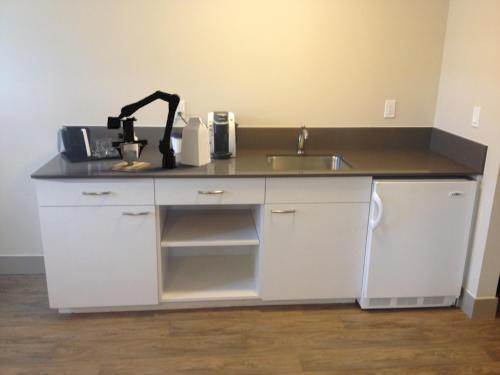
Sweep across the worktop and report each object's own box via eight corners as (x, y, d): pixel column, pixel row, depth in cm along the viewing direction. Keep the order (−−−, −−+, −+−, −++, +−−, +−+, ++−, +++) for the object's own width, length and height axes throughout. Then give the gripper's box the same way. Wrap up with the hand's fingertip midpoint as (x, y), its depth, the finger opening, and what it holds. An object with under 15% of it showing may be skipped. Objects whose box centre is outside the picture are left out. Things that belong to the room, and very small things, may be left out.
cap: (128, 158, 247) (127, 149, 246) (139, 159, 245) (139, 150, 244) (120, 161, 241) (120, 151, 239) (132, 162, 239) (131, 152, 237)
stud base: (150, 165, 249) (150, 159, 248) (136, 172, 235) (136, 165, 234) (125, 163, 253) (125, 156, 252) (109, 169, 239) (109, 162, 238)
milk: (181, 163, 255) (180, 117, 247) (193, 159, 265) (192, 114, 257) (199, 166, 250) (198, 118, 242) (210, 162, 259) (210, 116, 252)
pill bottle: (141, 156, 270) (140, 131, 266) (132, 159, 263) (131, 133, 259) (130, 155, 273) (129, 130, 269) (121, 158, 266) (120, 132, 262)
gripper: (142, 126, 249) (143, 154, 254) (107, 128, 241) (109, 157, 245) (147, 129, 240) (148, 158, 244) (111, 131, 231) (113, 161, 236)
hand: (130, 158), depth 243 cm, fingers open, 9 cm apart
